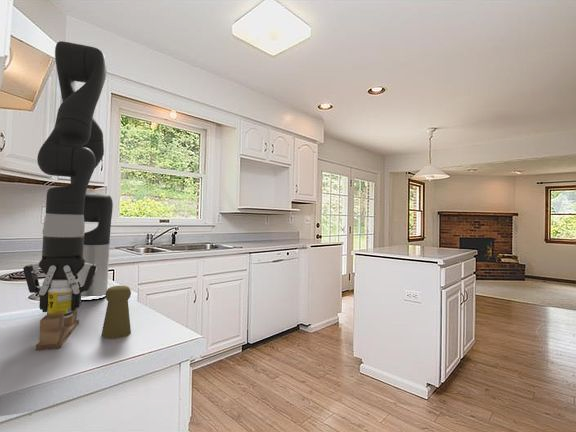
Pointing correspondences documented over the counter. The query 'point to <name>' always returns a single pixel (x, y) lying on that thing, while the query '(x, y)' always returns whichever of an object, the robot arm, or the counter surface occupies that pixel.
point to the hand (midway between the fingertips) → (60, 310)
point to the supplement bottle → (60, 298)
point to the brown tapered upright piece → (117, 313)
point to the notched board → (55, 330)
